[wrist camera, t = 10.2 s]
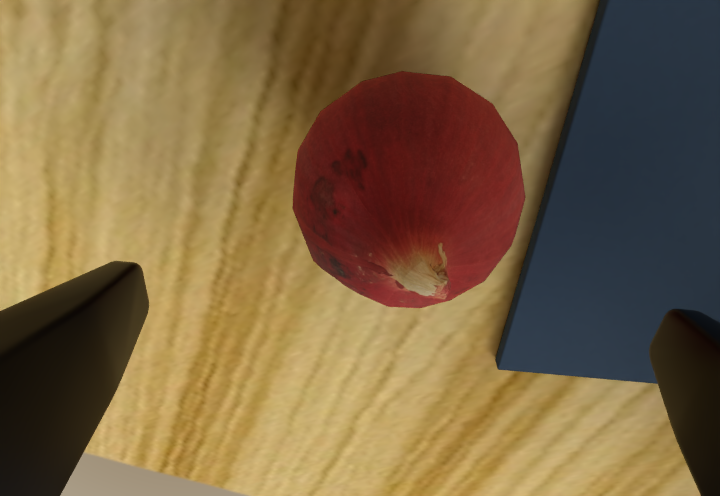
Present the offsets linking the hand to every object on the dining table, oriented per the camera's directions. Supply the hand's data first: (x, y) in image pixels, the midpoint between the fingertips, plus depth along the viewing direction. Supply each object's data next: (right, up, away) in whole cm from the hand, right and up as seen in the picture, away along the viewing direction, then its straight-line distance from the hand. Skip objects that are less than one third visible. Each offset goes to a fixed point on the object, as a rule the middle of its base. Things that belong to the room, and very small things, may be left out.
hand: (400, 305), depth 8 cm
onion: (+1, +4, +7) cm, 9 cm away
